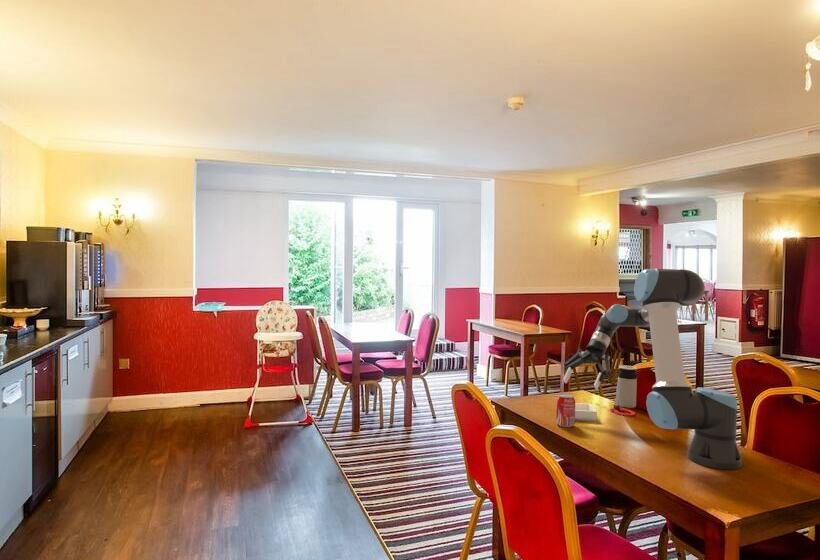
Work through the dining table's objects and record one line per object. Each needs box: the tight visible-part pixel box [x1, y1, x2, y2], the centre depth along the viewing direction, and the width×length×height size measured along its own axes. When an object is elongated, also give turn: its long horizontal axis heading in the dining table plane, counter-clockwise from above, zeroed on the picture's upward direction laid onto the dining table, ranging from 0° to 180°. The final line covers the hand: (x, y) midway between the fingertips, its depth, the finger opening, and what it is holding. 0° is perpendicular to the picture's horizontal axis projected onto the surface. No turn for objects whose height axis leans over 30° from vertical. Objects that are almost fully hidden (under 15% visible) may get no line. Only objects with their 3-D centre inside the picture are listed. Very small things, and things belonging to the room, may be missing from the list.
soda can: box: [555, 393, 576, 428], centre depth 200 cm, size 7×7×12 cm
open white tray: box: [575, 402, 598, 422], centre depth 213 cm, size 12×12×4 cm
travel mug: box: [617, 365, 638, 409], centre depth 231 cm, size 8×8×18 cm
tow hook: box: [609, 381, 636, 417], centre depth 219 cm, size 8×13×9 cm
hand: (579, 384), depth 207 cm, fingers open, 13 cm apart
